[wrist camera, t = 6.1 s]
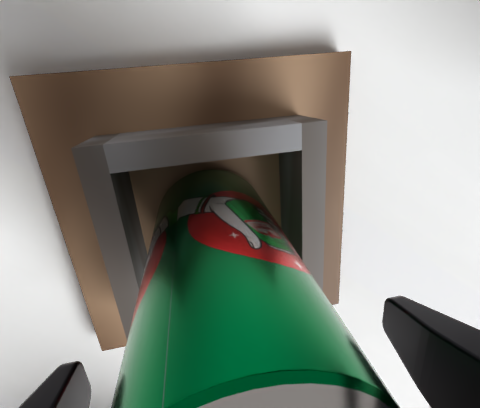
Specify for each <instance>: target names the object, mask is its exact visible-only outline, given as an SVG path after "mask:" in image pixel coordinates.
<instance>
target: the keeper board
mask: <svg viewBox="0 0 480 408" xmlns="http://www.w3.org/2000/svg"><path fill="white" fill-rule="evenodd" d="M350 63H351V51H345V52H332V53H318V54H305V55H291V56H278V57H265V58H251V59H238V60H224V61H211V62H197V63H184V64H170V65H157V66H144V67H130V68H117V69H103V70H90V71H76V72H63V73H50V74H36V75H23V76H9V77H10V80H11V83H12V86H13V89H14V92H15V95H16V98H17V101H18V103H19V106H20V109H21V112H22V115H23V118H24V121H25V124H26V127H27V130H28V133H29V136H30V139H31V142H32V145H33V148H34V151H35V154H36V157H37V160H38V163H39V166H40V169H41V172H42V175H43V178H44V180H45V183H46V186H47V189H48V192H49V195H50V198H51V201H52V204H53V207H54V210H55V213H56V216H57V219H58V222H59V225H60V228H61V231H62V234H63V237H64V240H65V243H66V246H67V249H68V252H69V255H70V257H71V260H72V263H73V266H74V269H75V272H76V275H77V278H78V281H79V284H80V287H81V290H82V293H83V296H84V299H85V302H86V305H87V308H88V311H89V314H90V317H91V320H92V323H93V326H94V329H95V332H96V334H97V337H98V340H99V343H100V346H101V349H102V351H104V350H109V349H114V348H119V347H124V346H126V344H127V339H128V335H129V331H130V327H131V323H132V318H133V314H134V310H135V306H136V302H137V298H138V293H139V289H140V285H141V281H142V277H143V272H144V268H145V264H146V260H147V256H148V251H149V247H150V243H151V239H152V235H153V231H154V226H155V222H156V218H157V214H158V210H159V206H160V203H161V201H162V199H163V197H164V195H165V194H166V192H167V191H168V190H169V188H170V187H171V186H172V185H173V184H174V183H176V182H177V181H178V180H179V179H181V178H183V177H185V176H186V175H188V174H191V173H194V172H196V171H201V170H208V169H217V170H224V171H228V172H232V173H234V174H236V175H238V176H240V177H242V178H243V179H245V180H246V181H247V182H248V183H249V184H250V185H252V187H253V188H254V189H255V190H256V192H257V193H258V195H259V196H260V198H261V199H262V201H263V202H264V204H265V205H266V207H267V208H268V210H269V211H270V213H271V214H272V216H273V217H274V219H275V220H276V222H277V223H278V225H279V226H280V228H281V229H282V231H283V232H284V234H285V235H286V237H287V238H288V240H289V241H290V243H291V244H292V246H293V247H294V249H295V250H296V252H297V253H298V255H299V256H300V258H301V259H302V261H303V262H304V264H305V265H306V267H307V268H308V270H309V271H310V273H311V274H312V276H313V277H314V279H315V280H316V282H317V283H318V285H319V286H320V288H321V290H322V291H323V293H324V294H325V296H326V297H327V299H328V300H329V302H330V303H331V305H333V304H338V302H339V283H340V263H341V243H342V223H343V203H344V183H345V163H346V143H347V123H348V103H349V83H350Z"/></svg>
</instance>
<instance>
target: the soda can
mask: <svg viewBox="0 0 480 408" xmlns="http://www.w3.org/2000/svg"><path fill="white" fill-rule="evenodd" d="M111 408H400V407H399V405H398V404H397V402H396V401H395V399H394V398H393V396H392V395H391V393H390V392H389V390H388V389H387V387H386V386H385V384H384V383H383V381H382V380H381V378H380V377H379V375H378V374H377V372H376V371H375V369H374V368H373V366H372V365H371V363H370V362H369V360H368V359H367V357H366V356H365V354H364V353H363V351H362V350H361V348H360V347H359V345H358V344H357V342H356V341H355V339H354V338H353V336H352V335H351V333H350V332H349V330H348V329H347V327H346V326H345V324H344V323H343V321H342V320H341V318H340V317H339V315H338V314H337V312H336V311H335V309H334V308H333V306H332V305H331V303H330V302H329V300H328V299H327V297H326V296H325V294H324V293H323V291H322V290H321V288H320V286H319V285H318V283H317V282H316V280H315V279H314V277H313V276H312V274H311V273H310V271H309V270H308V268H307V267H306V265H305V264H304V262H303V261H302V259H301V258H300V256H299V255H298V253H297V252H296V250H295V249H294V247H293V246H292V244H291V243H290V241H289V240H288V238H287V237H286V235H285V234H284V232H283V231H282V229H281V228H280V226H279V225H278V223H277V222H276V220H275V219H274V217H273V216H272V214H271V213H270V211H269V210H268V208H267V207H266V205H265V204H264V202H263V201H262V199H261V198H260V196H259V195H258V193H257V192H256V190H255V189H254V188H253V187H252V185H250V184H249V183H248V182H247V181H246V180H245V179H243V178H242V177H240V176H238V175H236V174H234V173H232V172H228V171H224V170H217V169H208V170H201V171H196V172H194V173H191V174H188V175H186V176H185V177H183V178H181V179H179V180H178V181H177V182H176V183H174V184H173V185H172V186H171V187H170V188H169V190H168V191H167V192H166V194H165V195H164V197H163V199H162V201H161V203H160V206H159V210H158V214H157V218H156V222H155V226H154V231H153V235H152V239H151V243H150V247H149V251H148V256H147V260H146V264H145V268H144V272H143V277H142V281H141V285H140V289H139V293H138V298H137V302H136V306H135V310H134V314H133V318H132V323H131V327H130V331H129V335H128V339H127V344H126V348H125V352H124V356H123V360H122V365H121V369H120V373H119V377H118V381H117V386H116V390H115V394H114V398H113V402H112V406H111Z"/></svg>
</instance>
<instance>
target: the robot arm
mask: <svg viewBox="0 0 480 408" xmlns="http://www.w3.org/2000/svg"><path fill="white" fill-rule="evenodd" d="M382 323H383V328H384V331H385V333H386V334H387V336H388V338H389V340H390V341H391V343H392V345H393V346H394V348H395V350H396V352H397V353H398V355H399V357H400V359H401V360H402V362H403V364H404V365H405V367H406V369H407V371H408V372H409V374H410V376H411V378H412V379H413V381H414V382H415V384H416V386H417V387H418V389H419V390H420V392H421V393H422V395H423V396H424V398H425V399H426V401H427V402H428V403H429V405H430V406H431V408H480V330H478V329H476V328H474V327H472V326H469V325H467V324H465V323H463V322H460V321H458V320H456V319H453V318H451V317H449V316H447V315H444V314H442V313H440V312H438V311H435V310H433V309H431V308H428V307H426V306H424V305H422V304H419V303H417V302H415V301H413V300H410V299H408V298H406V297H403V296H396V297H391V298H388V299H386V301H385V304H384V312H383V321H382ZM90 398H91V386H90V383H89V380H88V378H87V375H86V372H85V370H84V367H83V365H82V363H81V362H79V361H76V362H71V363H66V364H62V365H60V366H59V367H58V368H57V369H56V370H55V371H54V372H53V373H52V374H51V375H50V376H49V377H48V378H47V379H46V380H45V381H44V382H43V383H42V384H41V385H40V386H39V387H38V388H37V389H36V390H35V391H34V392H33V393H32V394H31V395H30V397H29V398H28V399H27V400H26V401H25V402H24V403H23V404H22V405H21V406H20V407H19V408H89V405H90Z"/></svg>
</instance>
